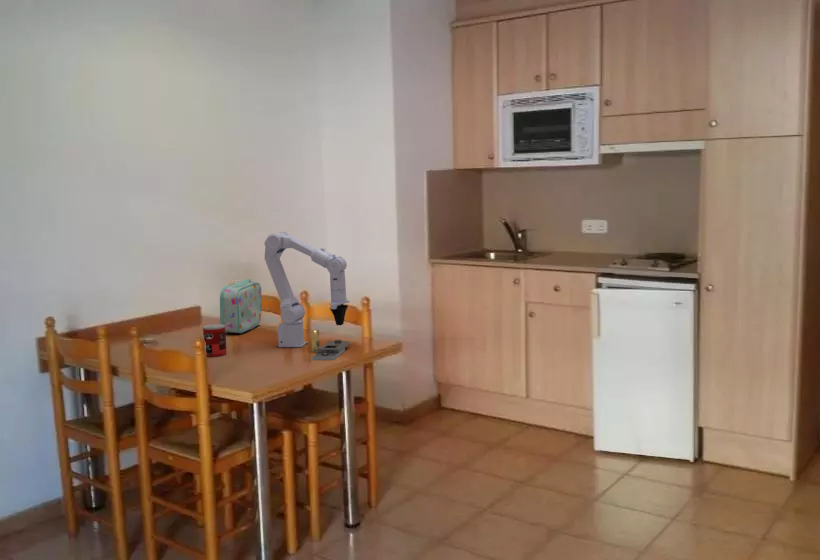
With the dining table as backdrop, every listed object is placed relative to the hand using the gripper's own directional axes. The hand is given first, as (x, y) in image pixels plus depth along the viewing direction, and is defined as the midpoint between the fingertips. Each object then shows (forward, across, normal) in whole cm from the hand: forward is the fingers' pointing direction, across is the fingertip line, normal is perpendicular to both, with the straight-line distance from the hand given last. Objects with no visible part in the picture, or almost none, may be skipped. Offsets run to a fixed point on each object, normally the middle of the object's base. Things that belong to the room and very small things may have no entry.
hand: (339, 324), depth 309 cm
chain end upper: (+7, -9, 0) cm, 11 cm away
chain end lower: (+8, -15, 0) cm, 17 cm away
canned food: (+9, -16, +44) cm, 48 cm away
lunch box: (+9, +31, +54) cm, 63 cm away
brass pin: (+8, -9, +7) cm, 14 cm away
